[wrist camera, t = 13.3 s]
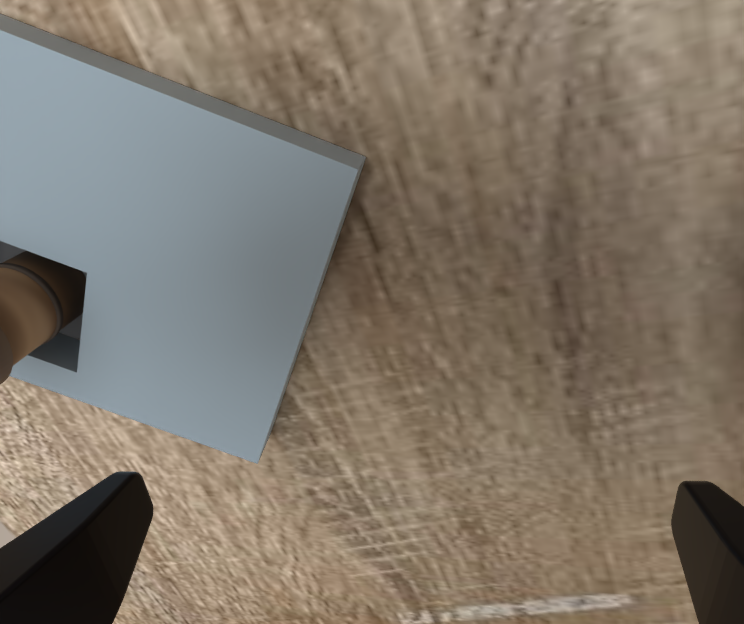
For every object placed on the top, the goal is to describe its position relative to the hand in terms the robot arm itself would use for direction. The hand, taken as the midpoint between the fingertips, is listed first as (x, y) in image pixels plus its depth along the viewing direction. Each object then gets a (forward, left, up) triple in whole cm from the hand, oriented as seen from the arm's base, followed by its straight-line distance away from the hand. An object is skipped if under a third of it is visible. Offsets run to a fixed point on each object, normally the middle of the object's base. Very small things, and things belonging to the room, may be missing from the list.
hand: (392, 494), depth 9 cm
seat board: (+11, +5, -13) cm, 18 cm away
